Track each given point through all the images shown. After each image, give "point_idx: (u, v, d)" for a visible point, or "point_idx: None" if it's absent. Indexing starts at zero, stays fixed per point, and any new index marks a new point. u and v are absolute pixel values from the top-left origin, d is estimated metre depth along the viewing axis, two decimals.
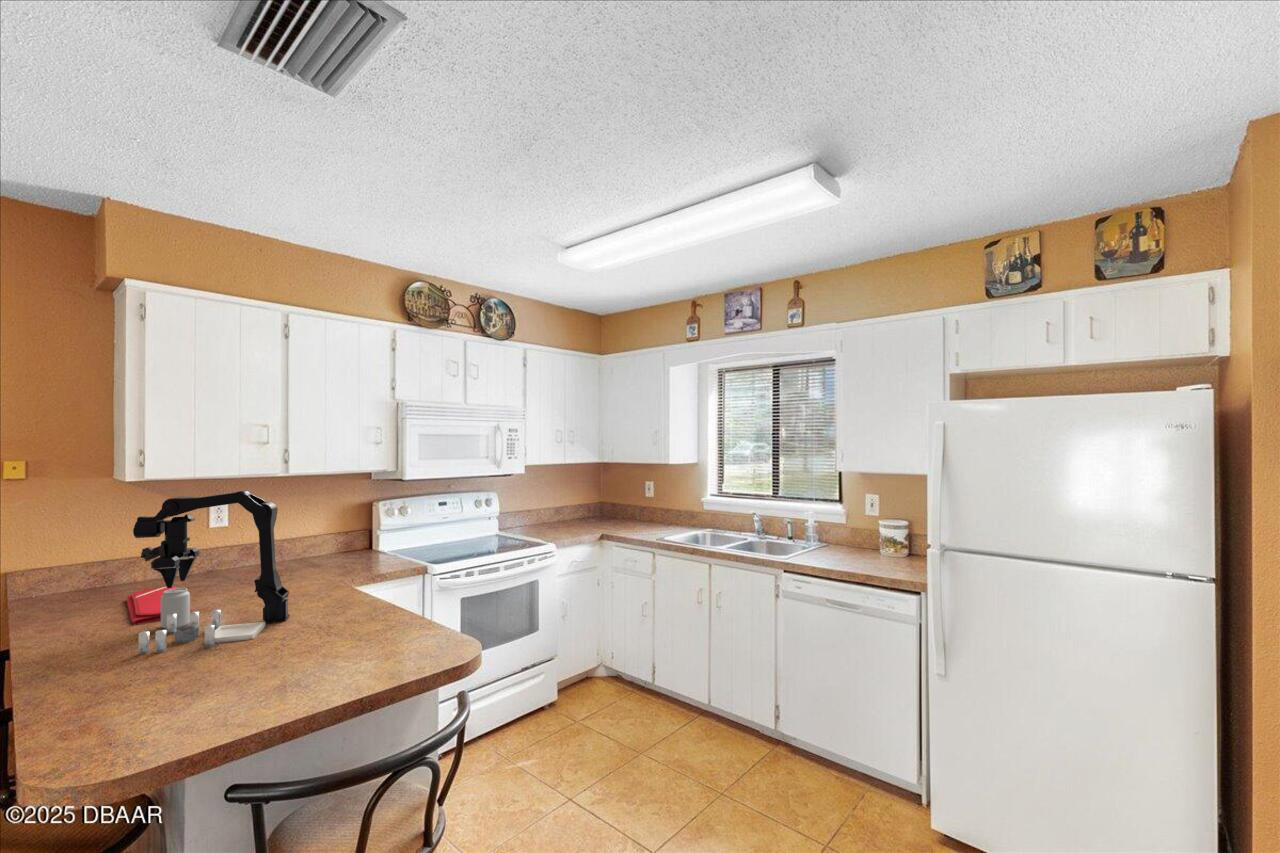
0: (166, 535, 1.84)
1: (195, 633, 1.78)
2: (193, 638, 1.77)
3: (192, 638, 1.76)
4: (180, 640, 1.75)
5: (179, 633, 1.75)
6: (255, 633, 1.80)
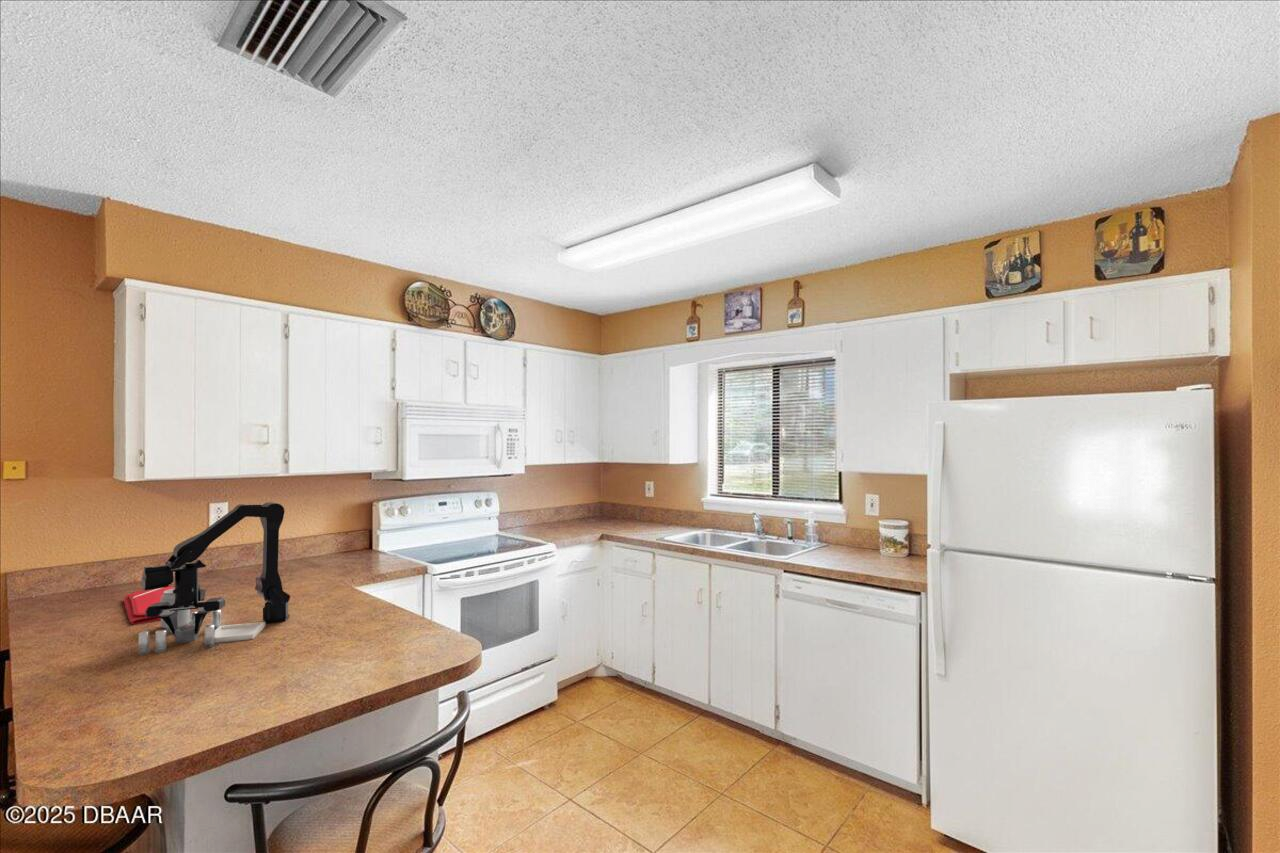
0: (181, 584, 1.75)
1: None
2: (193, 638, 1.77)
3: (192, 638, 1.76)
4: (180, 640, 1.75)
5: (179, 632, 1.75)
6: (255, 633, 1.80)
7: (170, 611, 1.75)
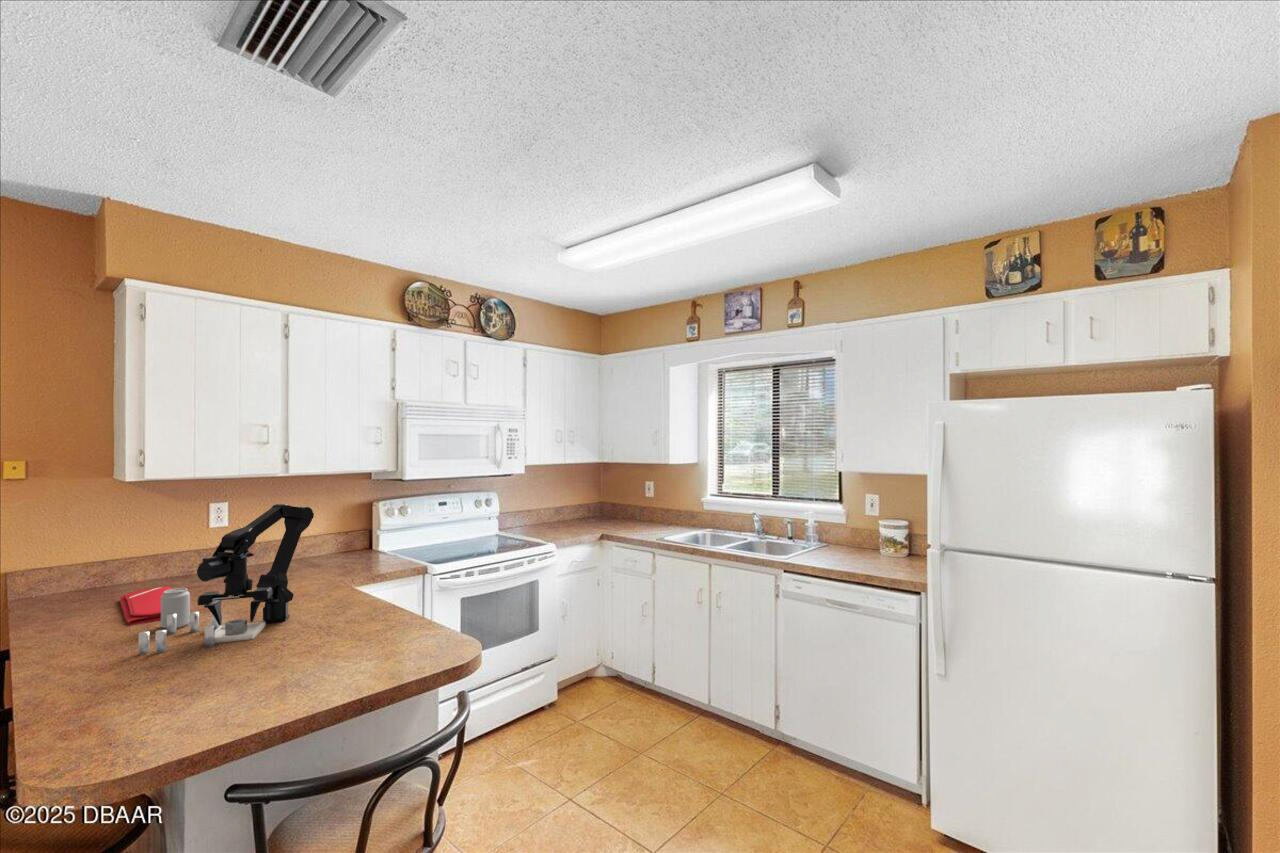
0: (236, 573, 1.79)
1: (244, 626, 1.82)
2: (243, 631, 1.81)
3: (242, 631, 1.80)
4: (230, 633, 1.79)
5: (229, 625, 1.79)
6: (255, 633, 1.80)
7: (215, 600, 1.79)
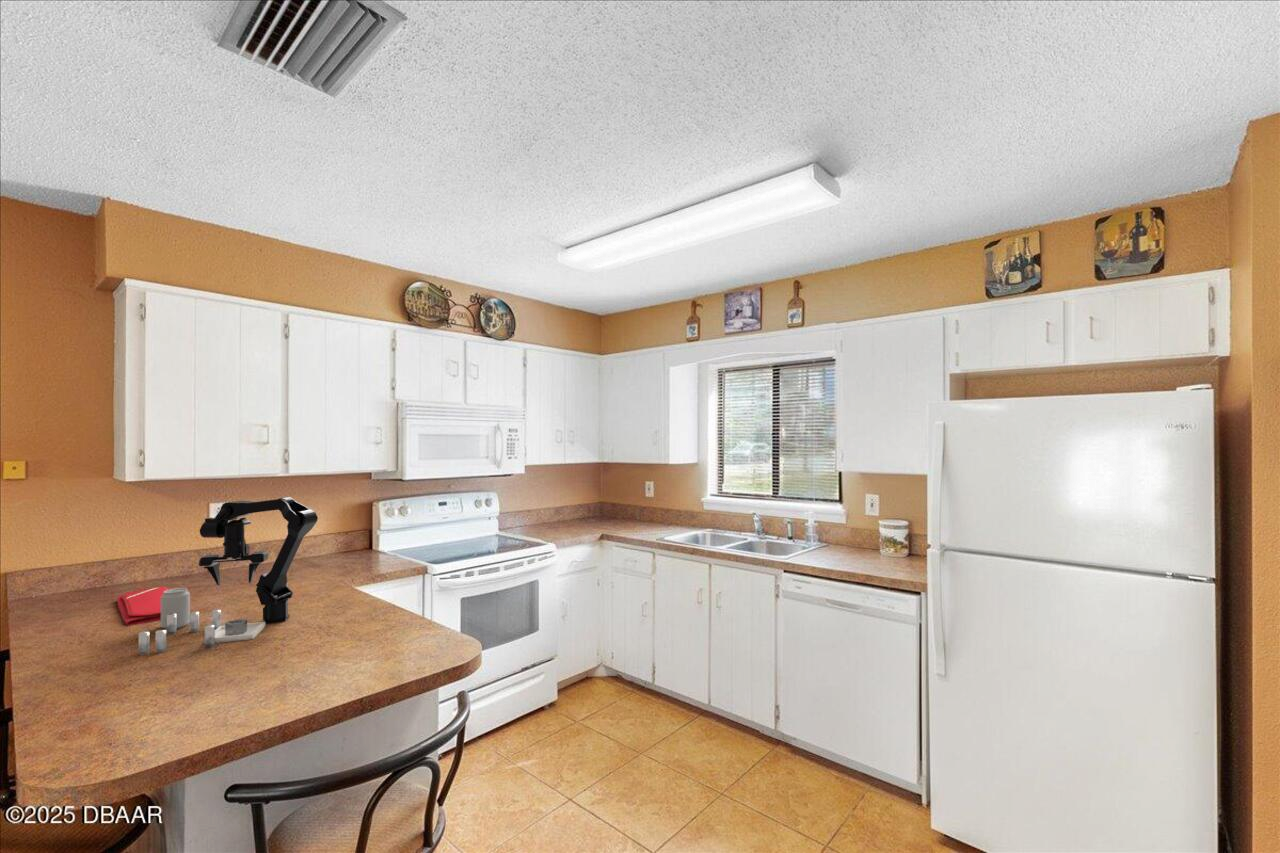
0: (224, 537, 1.95)
1: (244, 626, 1.82)
2: (243, 631, 1.81)
3: (242, 631, 1.80)
4: (230, 633, 1.79)
5: (229, 625, 1.79)
6: (255, 633, 1.80)
7: (213, 562, 1.94)
